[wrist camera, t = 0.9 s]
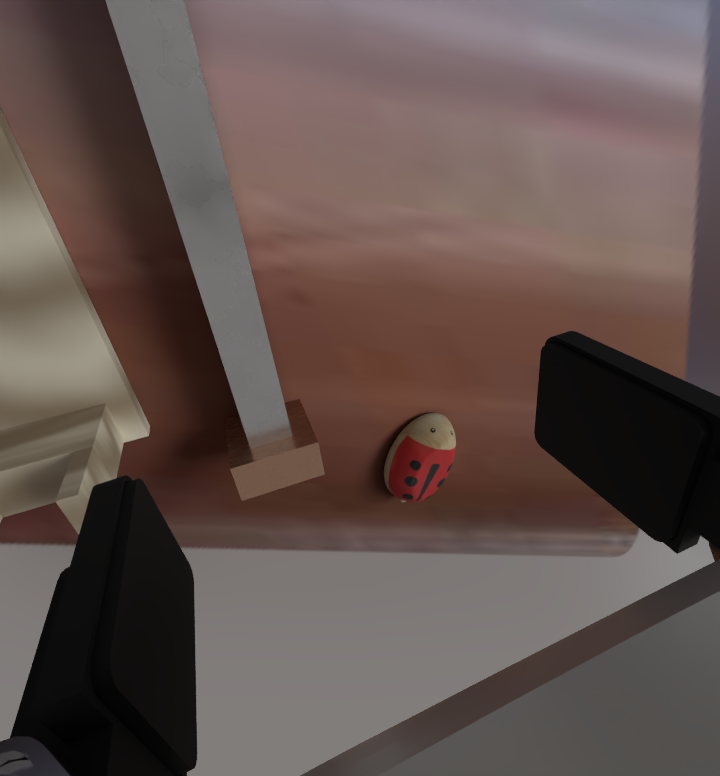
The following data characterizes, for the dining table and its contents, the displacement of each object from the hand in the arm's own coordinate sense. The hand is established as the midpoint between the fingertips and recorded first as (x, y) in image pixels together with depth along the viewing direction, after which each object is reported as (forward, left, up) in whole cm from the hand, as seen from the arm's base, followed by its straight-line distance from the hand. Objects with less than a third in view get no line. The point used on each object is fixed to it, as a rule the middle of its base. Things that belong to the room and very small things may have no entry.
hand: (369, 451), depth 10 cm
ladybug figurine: (+22, +11, -22) cm, 33 cm away
